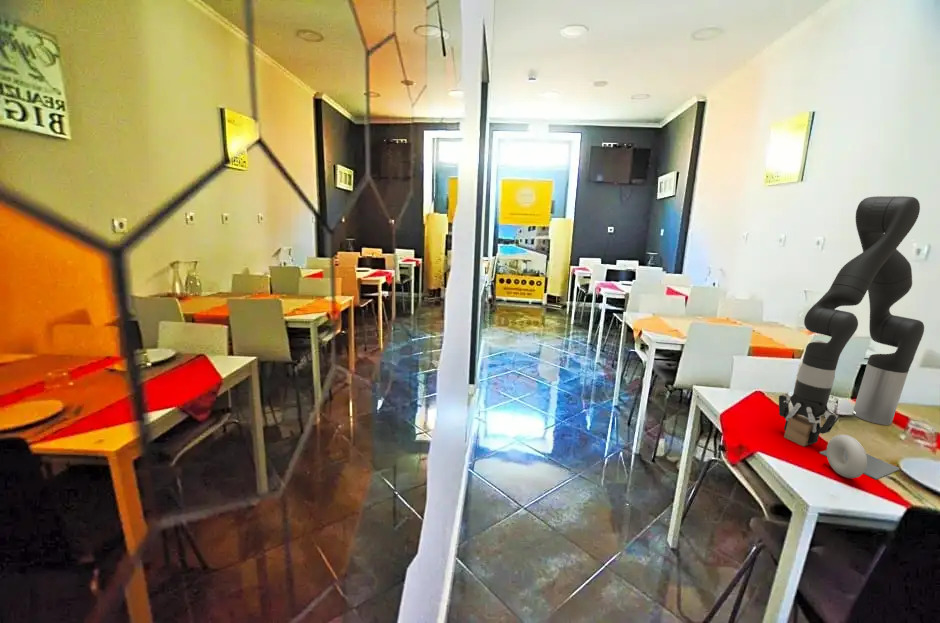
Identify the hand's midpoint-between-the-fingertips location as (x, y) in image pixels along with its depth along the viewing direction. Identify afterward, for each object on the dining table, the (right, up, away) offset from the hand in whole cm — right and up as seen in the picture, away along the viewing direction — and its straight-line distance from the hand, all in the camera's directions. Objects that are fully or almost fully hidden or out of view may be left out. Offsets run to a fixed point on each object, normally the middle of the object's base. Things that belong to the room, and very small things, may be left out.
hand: (799, 437), depth 118 cm
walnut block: (0, -1, 0) cm, 1 cm away
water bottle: (+11, +2, +14) cm, 18 cm away
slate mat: (+9, -3, -9) cm, 13 cm away
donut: (-2, -5, -15) cm, 16 cm away
